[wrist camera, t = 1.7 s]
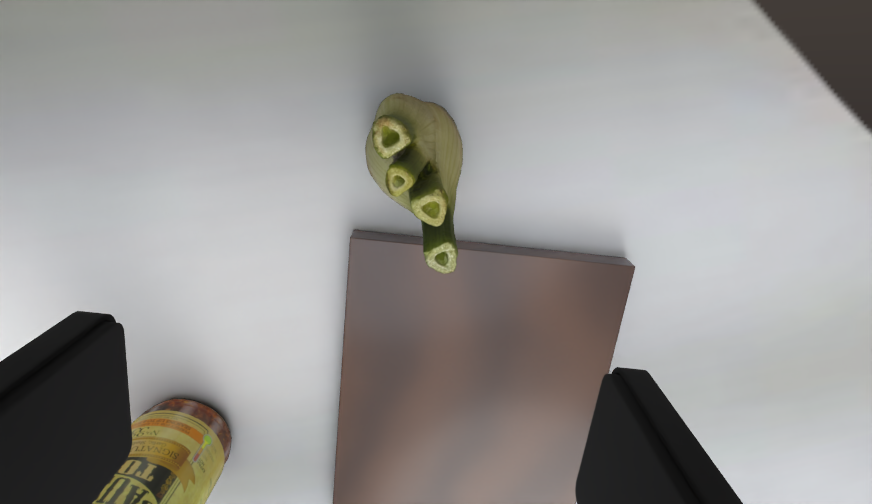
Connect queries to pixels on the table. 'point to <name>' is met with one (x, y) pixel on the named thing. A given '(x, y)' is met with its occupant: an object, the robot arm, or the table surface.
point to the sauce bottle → (171, 456)
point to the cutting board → (471, 371)
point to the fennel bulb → (419, 169)
